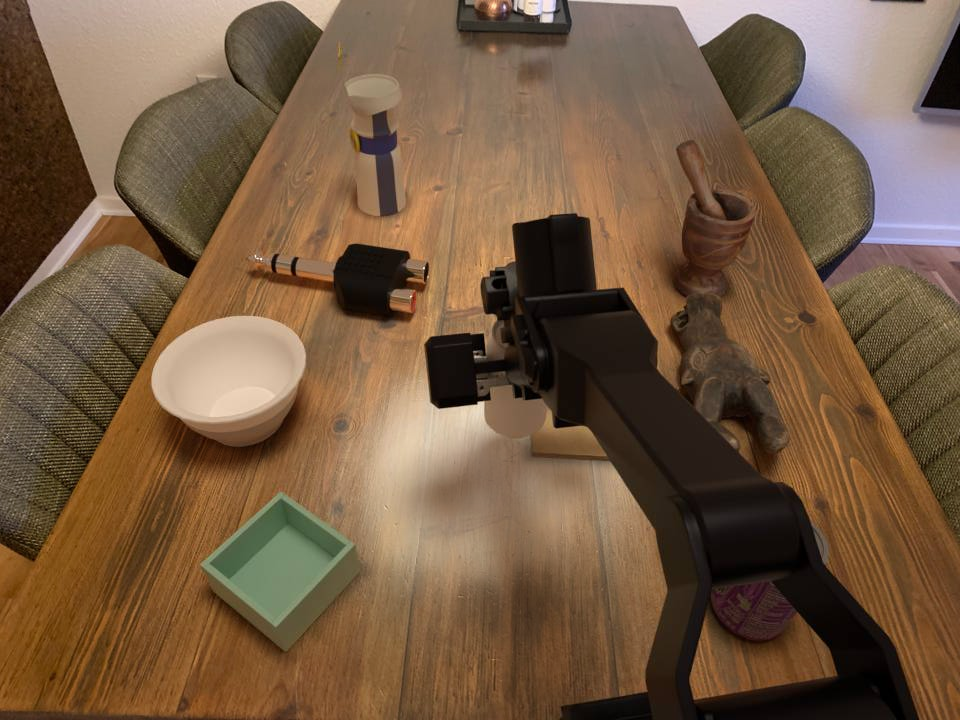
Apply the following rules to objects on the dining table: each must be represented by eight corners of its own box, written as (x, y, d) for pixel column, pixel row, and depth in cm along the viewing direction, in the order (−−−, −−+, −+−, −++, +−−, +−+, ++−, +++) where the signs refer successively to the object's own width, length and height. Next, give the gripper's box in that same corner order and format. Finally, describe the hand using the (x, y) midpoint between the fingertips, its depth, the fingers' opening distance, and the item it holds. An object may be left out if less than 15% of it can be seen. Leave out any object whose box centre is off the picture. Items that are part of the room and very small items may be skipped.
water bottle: (364, 223, 109) (347, 60, 92) (348, 195, 115) (329, 36, 97) (415, 212, 112) (407, 51, 94) (397, 185, 117) (386, 28, 99)
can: (471, 411, 74) (473, 325, 66) (519, 385, 77) (527, 300, 69) (509, 451, 71) (516, 365, 62) (558, 422, 73) (571, 337, 65)
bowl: (268, 492, 74) (252, 441, 68) (142, 447, 78) (116, 395, 72) (341, 387, 85) (332, 335, 79) (227, 353, 89) (210, 301, 83)
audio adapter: (407, 296, 89) (222, 266, 92) (409, 327, 93) (232, 297, 96) (430, 246, 97) (258, 220, 100) (431, 277, 100) (266, 251, 104)
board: (639, 462, 78) (641, 457, 78) (531, 456, 79) (531, 452, 78) (627, 371, 88) (628, 366, 88) (530, 366, 88) (531, 361, 88)
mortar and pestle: (642, 292, 99) (673, 163, 85) (649, 257, 105) (680, 131, 91) (727, 309, 97) (773, 180, 83) (729, 272, 103) (773, 145, 89)
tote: (360, 571, 68) (355, 543, 65) (286, 652, 63) (275, 627, 59) (289, 519, 72) (280, 490, 69) (213, 591, 66) (199, 564, 63)
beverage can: (734, 558, 70) (772, 489, 62) (799, 608, 67) (850, 541, 58) (693, 605, 67) (729, 538, 58) (761, 660, 63) (809, 597, 55)
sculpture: (730, 321, 95) (746, 282, 90) (788, 482, 78) (813, 444, 73) (656, 319, 95) (668, 279, 90) (697, 480, 77) (716, 442, 72)
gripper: (658, 247, 56) (598, 273, 71) (422, 267, 53) (413, 290, 69) (673, 387, 56) (609, 383, 71) (438, 414, 53) (425, 404, 69)
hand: (516, 362), depth 70 cm, fingers closed on can, 6 cm apart
